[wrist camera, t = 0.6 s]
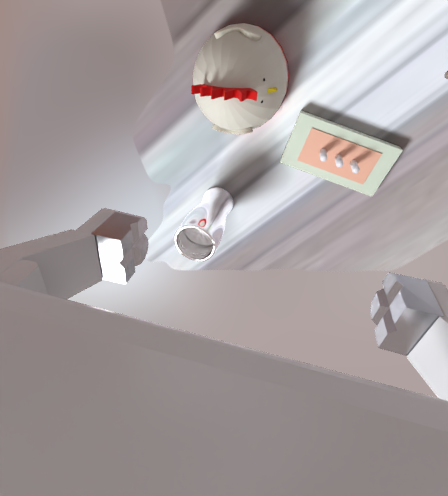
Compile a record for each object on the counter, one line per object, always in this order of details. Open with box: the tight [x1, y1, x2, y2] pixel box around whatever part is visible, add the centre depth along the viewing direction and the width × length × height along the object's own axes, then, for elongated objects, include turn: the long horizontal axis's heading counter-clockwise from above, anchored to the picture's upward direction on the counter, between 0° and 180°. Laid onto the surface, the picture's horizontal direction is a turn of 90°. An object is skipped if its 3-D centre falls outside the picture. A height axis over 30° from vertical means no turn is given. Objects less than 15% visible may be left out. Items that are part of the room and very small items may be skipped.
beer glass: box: [175, 187, 233, 261], centre depth 52 cm, size 7×7×15 cm
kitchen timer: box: [192, 23, 289, 134], centre depth 40 cm, size 14×14×15 cm
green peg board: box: [280, 110, 403, 197], centre depth 46 cm, size 8×16×5 cm, turn 74°
